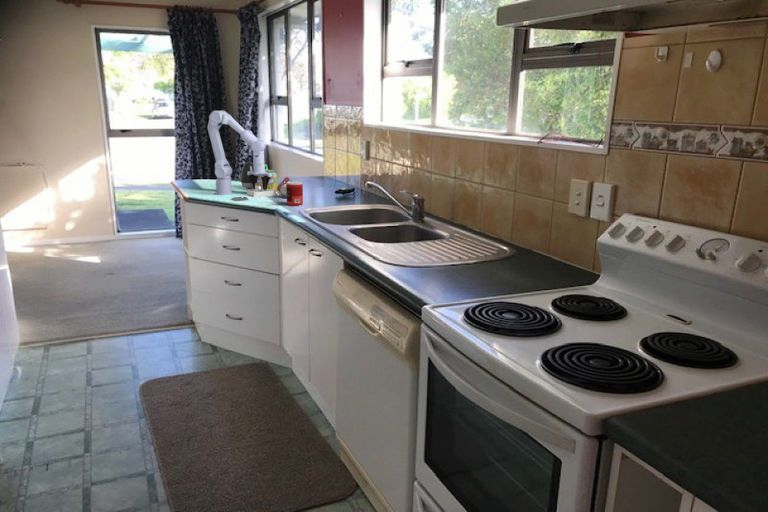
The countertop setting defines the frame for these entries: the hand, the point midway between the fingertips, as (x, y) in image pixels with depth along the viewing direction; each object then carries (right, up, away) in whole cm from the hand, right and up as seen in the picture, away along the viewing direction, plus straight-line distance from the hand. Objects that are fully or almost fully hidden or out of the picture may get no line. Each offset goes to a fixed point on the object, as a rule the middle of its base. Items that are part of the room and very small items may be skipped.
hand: (260, 189), depth 309 cm
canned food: (+23, -11, -25) cm, 35 cm away
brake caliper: (+15, -5, -4) cm, 17 cm away
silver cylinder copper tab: (0, -3, 0) cm, 3 cm away
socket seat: (-7, -7, -15) cm, 18 cm away
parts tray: (0, -3, +1) cm, 3 cm away
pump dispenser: (-12, +4, +29) cm, 32 cm away
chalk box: (0, +1, +18) cm, 18 cm away
